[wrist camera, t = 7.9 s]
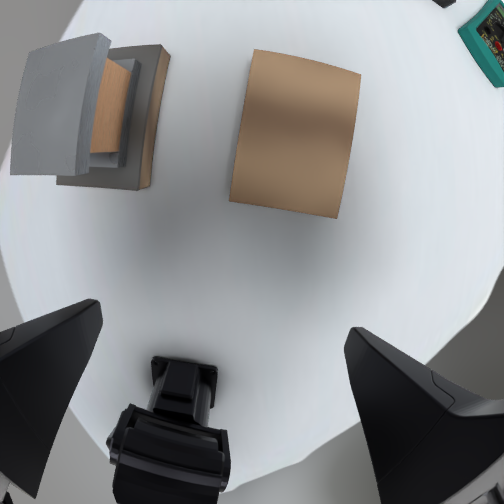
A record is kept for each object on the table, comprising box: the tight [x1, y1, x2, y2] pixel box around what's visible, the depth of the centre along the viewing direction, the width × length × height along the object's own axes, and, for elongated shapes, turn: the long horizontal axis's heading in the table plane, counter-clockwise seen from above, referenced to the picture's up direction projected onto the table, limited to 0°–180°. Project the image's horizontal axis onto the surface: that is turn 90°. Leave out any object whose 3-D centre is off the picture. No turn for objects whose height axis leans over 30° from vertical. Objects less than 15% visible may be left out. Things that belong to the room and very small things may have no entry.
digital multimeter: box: [458, 0, 504, 88], centre depth 11 cm, size 7×15×3 cm, turn 138°
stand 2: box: [229, 49, 361, 219], centre depth 16 cm, size 10×7×2 cm
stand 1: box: [56, 44, 170, 191], centre depth 15 cm, size 10×7×2 cm
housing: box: [10, 33, 142, 176], centre depth 11 cm, size 7×5×6 cm
